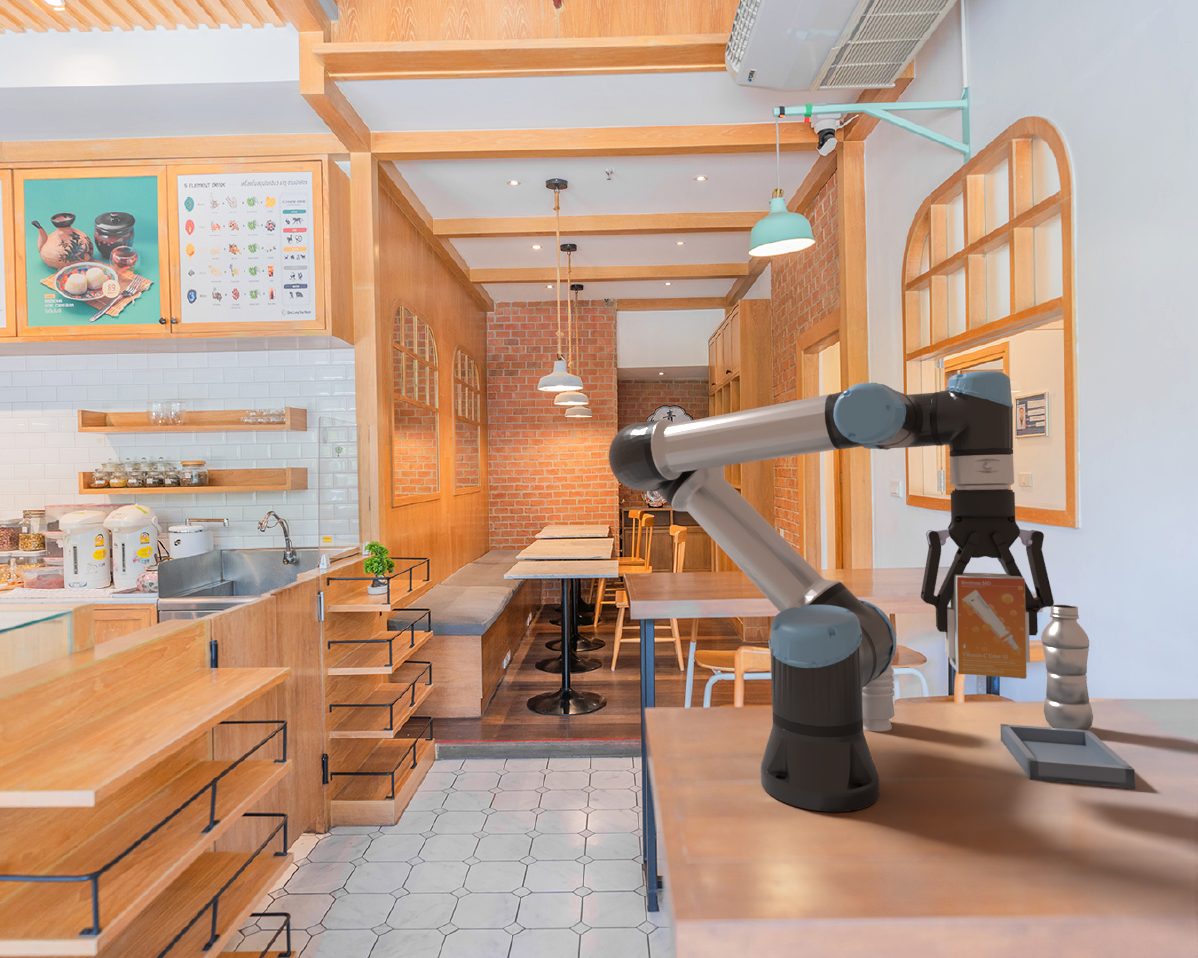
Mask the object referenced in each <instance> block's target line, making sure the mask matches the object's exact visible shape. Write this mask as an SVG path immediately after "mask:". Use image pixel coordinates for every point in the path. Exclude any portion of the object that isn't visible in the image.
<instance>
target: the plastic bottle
mask: <svg viewBox="0 0 1198 958" xmlns="http://www.w3.org/2000/svg"><path fill="white" fill-rule="evenodd" d="M1049 617H1050V618H1051V621H1050V622H1049V623H1048V624H1047V625H1046V627H1044V629H1043V631H1042V633H1041V636H1040V638H1041V643H1042V650H1043V656H1044V659H1045V661H1044V662H1045V669H1046V691H1045V692H1046V693H1045V699H1044V705H1043V714H1044V718H1045V721H1046V722H1047V723H1048V725H1049V726H1050V727H1051V728H1064V729H1078V730H1090V728H1091V727H1093V726H1092V725H1093V721H1094V720H1093V719H1094V713H1093V709H1092V706H1091V703H1090V697H1089V690H1088V683H1087V678H1088V677H1087V674H1088V673H1087V671H1088V657H1089V651H1090V639H1089V637H1088V635H1087V632H1086V631H1085V630H1084V629H1083V627H1082V626H1081V625H1080V624H1079V623H1078V621H1077V620H1078V619H1080V615H1079V607H1078V606H1076V605H1070V604H1053V606H1051V607H1050V613H1049Z"/></svg>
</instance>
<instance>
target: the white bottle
mask: <svg viewBox="0 0 1198 958" xmlns="http://www.w3.org/2000/svg"><path fill="white" fill-rule="evenodd" d="M894 671H895V670H894V669H893V668H892V662H891V663H890V664H889V666H888V668H887V670H886V671H885V672H884V673H882V674H881V675H880V676H879V677H878V678H877V679H875V680H872V681H871V682H870V683H868V684H867V685H866V686H864V687H863V688H862V703H863V731H864V730H865V731H869V732H887V731H890V730H892V729H893V725H892V724H891V721H890V719H893V718H894V717H895V706H894V698H893V697H894V696H895V690H894V688H895V683H894V682H895V679H894V673H895V672H894Z"/></svg>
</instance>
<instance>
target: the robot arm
mask: <svg viewBox="0 0 1198 958" xmlns="http://www.w3.org/2000/svg"><path fill="white" fill-rule="evenodd" d="M1013 409H1014V404H1013V400H1012V389H1011V379H1010V377H1009V376H1008V375H1007V374H1006V373H1004V372H1002V371H997V370H981V371H971V372H970V371H969V372H965V373H958V374H954V375H952V376H950V377H949V378H948V381H947V386H946V389H945V390H941V391H935V392H926V393H913V394H910V393H909V394H905V393H903V392H900V391H897V390H895V389H894V388H891V387H889V386H888V385H886V384H885V383H884V384H883V383H882V384H881V383H877V382H861V383H856V384H854V385H852V386H849V387H848V388H847V389H845V390H844V391H841V392H836V393H829V394H824V395H819V396H813V397H808V398H804V399H797V400H792V401H787V402H783V403H781V402H780V403H776V404H772V405H766V406H761V407H756V408H751V409H745V410H744V409H743V410H741V411H740V410H739V411H735V412H730V413H729V412H728V413H724V414H718V415H713V416H708V417H703V418H699V419H693V420H689V421H688V420H687V421H683V422H676V423H674V421H672V420H670V419H666V418H665V419H664V418H663V419H658V420H654V421H644V422H635V423H632V424H629V425H626V426H625V427H623V428H622V429H620V430H619V431H618V432H617V434H616V435H614V437H613V440H612V441H611V443H610V445H609V449H608V461H609V466H610V469H611V472H612V473H613V475H614V477H615V478H616V479H617V481H618V482H619V483H621V484H622V485H623V486H625V487H627V488H628V489H631V490H635V491H638V492H657V493H658V494H659V495H660V496H661V497H662V498H663V500H665V502H666V503H667V504H668V505H669V506H670V507H671V509H673V510H674V511H676V512H688V514H689V515H690V516H691V517H692V518H693V519H694V520H695V521H696V523H697V524H698V525H699V526H700V527H701V528H702V529H703V530H704V532H705V533H707V534H708V536H709V537H710V538H711V539H712V540H713V541H714V542H715V543H716V544H717V545H718V546H719V547H720V549H721V550H722V551H723V552H724V553H725V554H726V555H727V556H728V557H729V558H730V559H731V561H733V562H734V564H735V565H736V566H737V568H739V569H740V570H741V571H742V573H744V575H745V576H747V578H748V579H749V580H750V582H751V583H753V584H754V585H755V587H757V589H758V590H759V591H760V592H761V593H762V595H764V596H765V597H766V598H767V600H769V602H770V603H771V604H772V605H773V606H774V607H775V609H777V610H778V611H779V612H778V613H777V614H776V615H775V616H774V617H773V619H772V621H771V624H770V635H769V641H768V644H769V645H768V646H769V650H770V673H771V674H770V676H771V680H770V681H771V705H772V707H771V708H772V727H771V730H770V734H769V736H768V740H767V743H766V747H765V750H764V753H763V755H762V759H761V763H760V783H761V786H762V788H763V789H764V791H765V792H767V794H769V795H770V796H772V797H773V798H775V799H776V800H778V801H781V802H784V803H786V804H788V805H791V806H794V807H798V808H802V809H805V810H811V811H817V812H818V811H819V812H829V813H831V812H832V813H836V812H839V813H840V812H851V811H852V812H853V811H857V810H861V809H864V808H868V807H871V805H873V804H874V803H876V802H877V801H878V799H879V797H880V778H879V772H878V770H877V767H876V764H875V762H874V758H873V756H872V754H871V750H870V748H869V745H868V742H867V738H866V737H865V734H864V733H865V732H864V729H863V703H862V688H863V687H864V686H866V685H867V684H868V683H870V682H871V681H872V680H875V679H877V678H878V677H879V676H880V675H881V674H882V673H884V672H885V671H886V670H887V668H888V666H889V664H890V663H891V664H892V661H893V660H894V657H895V655H896V651H897V643H898V642H897V634H896V631H895V627H894V625H893V623H892V621H891V620H890V618H889V617H888V615H887V614H886V613H885V612H884V611H883V610H882V609H881V608H880V607H878V606H877V605H875V604H873V603H871V602H868V601H866V600H862V599H858V598H857V596H855V595H854V593H853V592H851V590H850V589H848V588H847V587H846V585H844V584H843V583H842V581H840V580H833V579H830V580H829V579H825V578H824V577H822V575H820V574H819V572H818V571H816V569H815V568H813V566H812V565H811V564H810V563H809V562H808V561H807V560H806V559H805V558H804V557H803V556H802V555H801V554H800V553H799V552H798V551H797V550H796V549H795V548H794V547H793V546H792V545H791V544H790V543H789V542H788V541H787V540H786V539H785V538H784V537H783V536H782V535H781V534H780V533H779V532H778V531H777V530H776V529H775V528H774V527H773V526H772V525H771V524H770V523H769V522H768V520H766V519H765V518H764V517H763V516H762V514H761V513H759V511H757V509H755V508H754V506H752V504H751V503H749V501H747V499H746V498H745V497H743V496H742V494H740V492H738V491H737V490H736V489H735V487H734V486H732V484H731V483H730V482H729V481H728V480H727V479H726V478H725V466H732V465H738V464H746V463H753V462H761V461H766V460H773V459H775V460H776V459H781V458H786V457H787V458H788V457H795V456H800V455H808V454H815V453H821V452H828V451H836V450H845V449H853V448H860V447H862V448H864V449H868V450H875V449H877V450H885V451H886V450H887V451H888V450H890V449H900V448H901V449H902V448H905V449H907V448H918V447H921V448H922V447H933V446H937V447H938V446H939V447H941V446H948V447H949V479H950V481H949V483H950V485H951V486H952V487H955V489H953V490H952V491H951V492H950V517H951V519H950V523H949V524H948V527H947V528H946V529H945V528H944V529H939V530H933V529H930V530H927V531H926V533H925V535H926V540H927V544H928V549H927V555H926V556H927V557H926V562H925V568H924V574H923V579H922V585H921V590H920V591H921V592H920V598H921V600H922V601H923V602H924V603H925V604H929V605H931V606H934V608H935V627H936V629H937V631H939V632H940V633H944V651H945V652H944V653H945V655H946V657H947V658H948V659H950V658H954V659H955V630H954V609H952V608H951V607H950V606H949V602H950V600H951V598H952V596H953V593H954V576H955V575H962V574H963V572H965V571H966V568H967V566H968V564H969V563H970V561H971V560H972V559H973V558H974V559H981V558H984V557H986V558H990V559H997V560H998V562H999V563H1000V564H1001V567H1002V569H1003V570H1004V572H1005V573H1006V574H1008V575H1010V576H1020V577H1022V578H1024V576H1023V575H1022V573H1021V570H1020V569H1019V566H1018V565H1017V563H1016V559H1015V558H1014V556H1013V553H1012V552H1011V550H1010V548H1011V546H1012V545H1013V544H1014V543H1015V542H1016V541H1017V539H1018V538H1019V539H1020V540H1021V544H1022V545H1023V546H1025V551H1026V556H1027V559H1028V564H1029V565H1028V566H1029V568H1030V573H1031V577H1032V581H1033V586H1034V591H1035V595H1036V597H1034V596H1033V595H1034V594H1033V593H1032V592H1031V589H1030V588H1029V586H1028V584H1027V582H1026V581H1025V616H1026V663H1031V653H1030V652H1031V651H1030V647H1031V646H1030V636H1037V635H1038V632H1039V629H1038V625H1039V624H1038V613H1039V612H1040V610H1041V609H1044V608H1051V606H1053V605H1055V601H1054V596H1053V593H1052V592H1053V591H1052V588H1051V584H1050V579H1049V575H1048V570H1047V566H1046V562H1045V557H1044V554H1043V553H1044V552H1043V544H1044V543H1043V542H1044V537H1045V534H1044V533H1043V532H1042V531H1040V530H1034V529H1031V530H1029V529H1023V528H1022V529H1020V527H1019V526H1018V524H1017V521H1016V502H1015V501H1016V498H1015V497H1016V496H1015V495H1016V493H1015V491H1014V490H1013V489H1010V486H1013V484H1014V483H1015V472H1014V471H1015V469H1014V467H1015V466H1014V424H1013V423H1014V411H1013ZM948 538H950V539H951V540H952V541H953V542H954V544H956V546H957V547H958V548H957V550H956V552H955V554H954V556H953V557H954V558H953V560H952V562H951V564H950V567H949V569H948V571H947V573H946V576H945V577H944V581H942V585H941V586H940V589H939V590H938V593H937V595H935V591H936V585H937V584H936V583H937V579H938V573H939V567H940V561H941V555H942V546H945V545H946V542H947V539H948ZM971 558H972V559H971Z"/></svg>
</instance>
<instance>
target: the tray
mask: <svg viewBox="0 0 1198 958" xmlns="http://www.w3.org/2000/svg"><path fill="white" fill-rule="evenodd" d="M999 726H1000V727H999V728H1000V741H1001V742H1002V744H1003V745H1004V746H1005V748H1006V749H1007V750H1008V752H1009V753H1010V754H1011V756H1013V758H1014V759H1015V761H1016V762H1017V764H1018V765H1019V766H1020V767H1021V770H1023V771H1024V773H1025V774H1026V775H1027V777H1028V778H1029V779H1030V780H1033V781H1034V780H1036V781H1045V782H1058V783H1068V784H1080V785H1091V786H1102V787H1111V788H1112V787H1113V788H1123V789H1124V788H1125V789H1136V781H1135V780H1136V777H1135V775H1136V774H1135V768H1133V766H1131V765H1130V764H1129V763H1128V762H1126V760H1124V759H1123V758H1122V757H1121V756H1120V755H1119V754H1117V752H1115V751H1114V750H1113V749H1111V747H1109V746H1108V745H1107V744H1106V743H1105V742H1103V741H1102V740H1101V739H1100V738H1099V737H1098V736H1097V735H1096V734H1095V733H1093V732H1092V731H1091V730H1090V729H1089V730H1078V729H1064V728H1054V727H1051V726H1050V727H1047V726H1035V725H1023V724H1022V725H1019V724H1009V723H1008V724H1007V723H1006V724H1004V723H1000V725H999Z"/></svg>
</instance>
